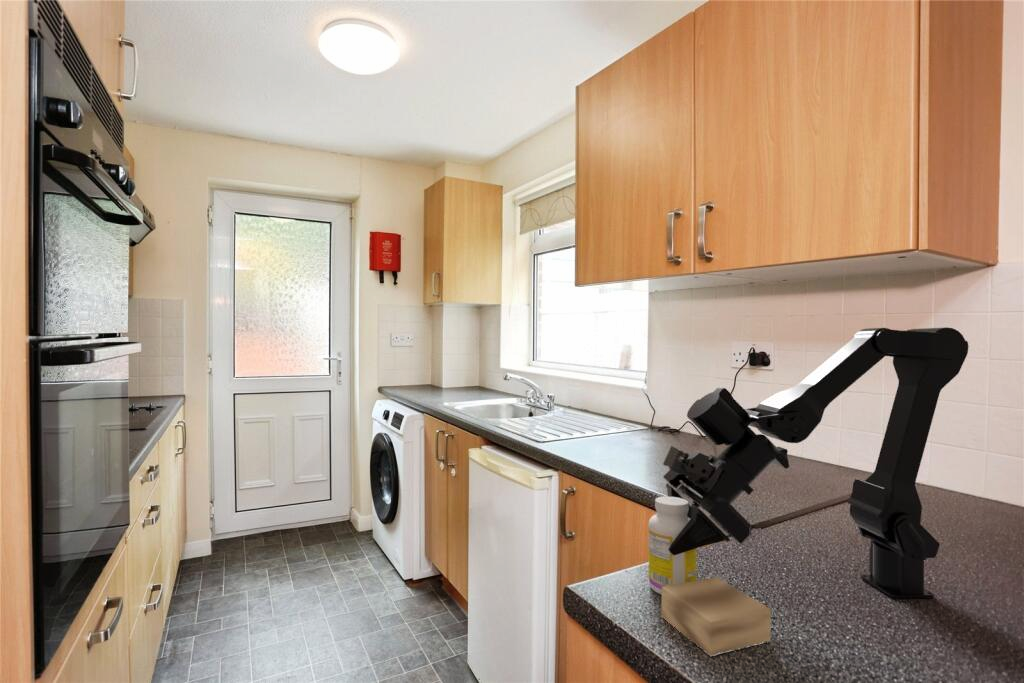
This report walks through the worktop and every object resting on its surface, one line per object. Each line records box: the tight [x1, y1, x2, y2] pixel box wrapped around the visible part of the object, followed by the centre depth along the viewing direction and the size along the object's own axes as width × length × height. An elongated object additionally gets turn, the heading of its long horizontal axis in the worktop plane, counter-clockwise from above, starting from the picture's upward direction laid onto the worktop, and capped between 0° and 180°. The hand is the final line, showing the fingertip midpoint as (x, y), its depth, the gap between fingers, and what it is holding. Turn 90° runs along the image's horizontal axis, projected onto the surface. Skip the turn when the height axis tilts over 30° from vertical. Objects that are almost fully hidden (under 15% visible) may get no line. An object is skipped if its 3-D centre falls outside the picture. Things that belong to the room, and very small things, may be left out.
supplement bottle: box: [648, 496, 698, 596], centre depth 74 cm, size 7×7×13 cm
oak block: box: [661, 576, 772, 655], centre depth 64 cm, size 9×9×4 cm
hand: (662, 543), depth 74 cm, fingers closed on supplement bottle, 6 cm apart
